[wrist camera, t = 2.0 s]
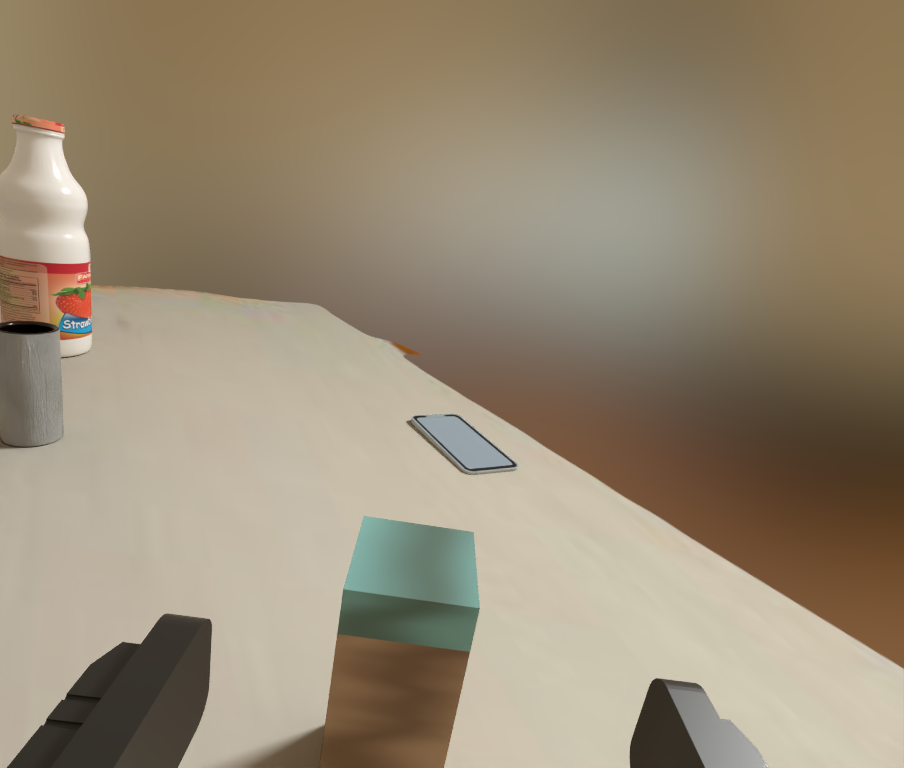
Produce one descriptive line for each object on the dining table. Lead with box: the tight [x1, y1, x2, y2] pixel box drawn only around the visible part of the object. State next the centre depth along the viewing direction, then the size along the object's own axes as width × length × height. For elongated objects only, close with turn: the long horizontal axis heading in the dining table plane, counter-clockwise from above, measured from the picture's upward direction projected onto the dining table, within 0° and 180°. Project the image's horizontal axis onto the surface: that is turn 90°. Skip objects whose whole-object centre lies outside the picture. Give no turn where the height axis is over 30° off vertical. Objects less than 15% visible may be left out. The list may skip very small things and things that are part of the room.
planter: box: [0, 321, 64, 447], centre depth 48 cm, size 4×4×10 cm
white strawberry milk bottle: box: [0, 115, 92, 357], centre depth 67 cm, size 9×9×28 cm
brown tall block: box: [319, 516, 480, 768], centre depth 24 cm, size 5×5×12 cm
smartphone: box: [411, 414, 518, 475], centre depth 65 cm, size 7×1×15 cm
